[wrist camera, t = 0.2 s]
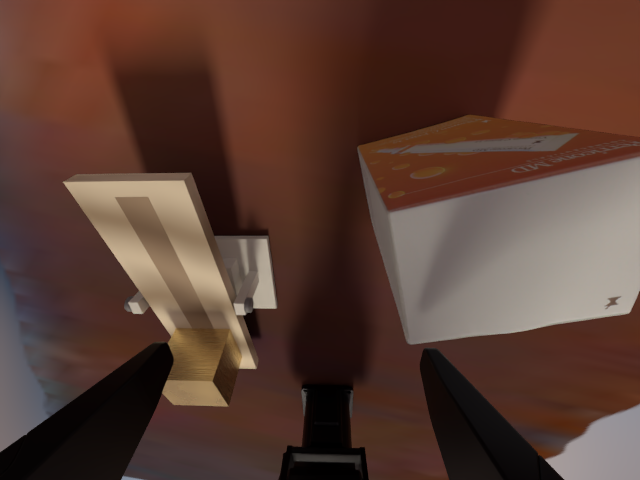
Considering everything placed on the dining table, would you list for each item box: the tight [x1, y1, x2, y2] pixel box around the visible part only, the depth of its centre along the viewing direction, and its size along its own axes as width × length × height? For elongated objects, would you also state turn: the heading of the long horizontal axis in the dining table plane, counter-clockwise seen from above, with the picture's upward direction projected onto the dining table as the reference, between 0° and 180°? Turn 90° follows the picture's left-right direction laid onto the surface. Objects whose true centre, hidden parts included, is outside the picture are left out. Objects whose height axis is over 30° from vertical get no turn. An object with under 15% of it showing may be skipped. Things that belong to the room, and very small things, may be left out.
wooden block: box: [162, 328, 242, 406], centre depth 23 cm, size 5×5×4 cm
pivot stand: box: [124, 236, 277, 315], centre depth 23 cm, size 8×12×5 cm, turn 91°
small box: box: [357, 115, 640, 344], centre depth 14 cm, size 8×6×13 cm
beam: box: [63, 173, 259, 369], centre depth 22 cm, size 22×7×1 cm, turn 2°
